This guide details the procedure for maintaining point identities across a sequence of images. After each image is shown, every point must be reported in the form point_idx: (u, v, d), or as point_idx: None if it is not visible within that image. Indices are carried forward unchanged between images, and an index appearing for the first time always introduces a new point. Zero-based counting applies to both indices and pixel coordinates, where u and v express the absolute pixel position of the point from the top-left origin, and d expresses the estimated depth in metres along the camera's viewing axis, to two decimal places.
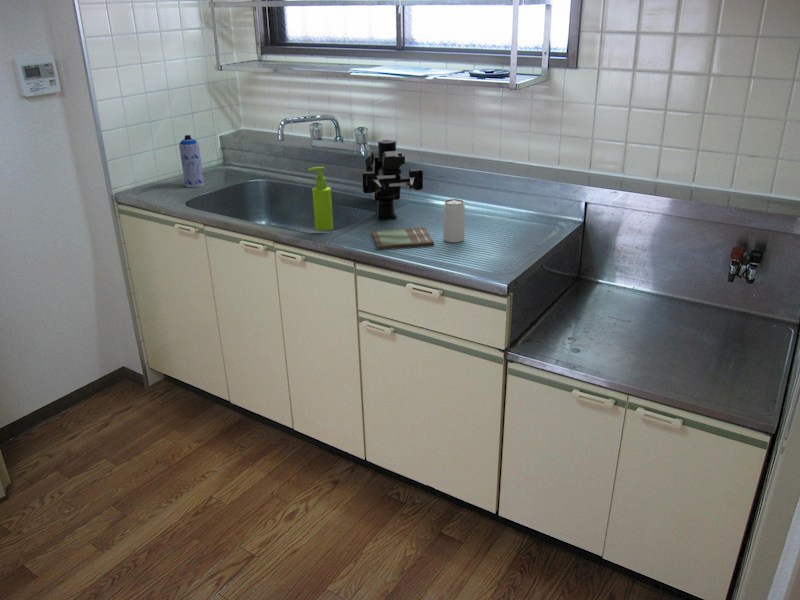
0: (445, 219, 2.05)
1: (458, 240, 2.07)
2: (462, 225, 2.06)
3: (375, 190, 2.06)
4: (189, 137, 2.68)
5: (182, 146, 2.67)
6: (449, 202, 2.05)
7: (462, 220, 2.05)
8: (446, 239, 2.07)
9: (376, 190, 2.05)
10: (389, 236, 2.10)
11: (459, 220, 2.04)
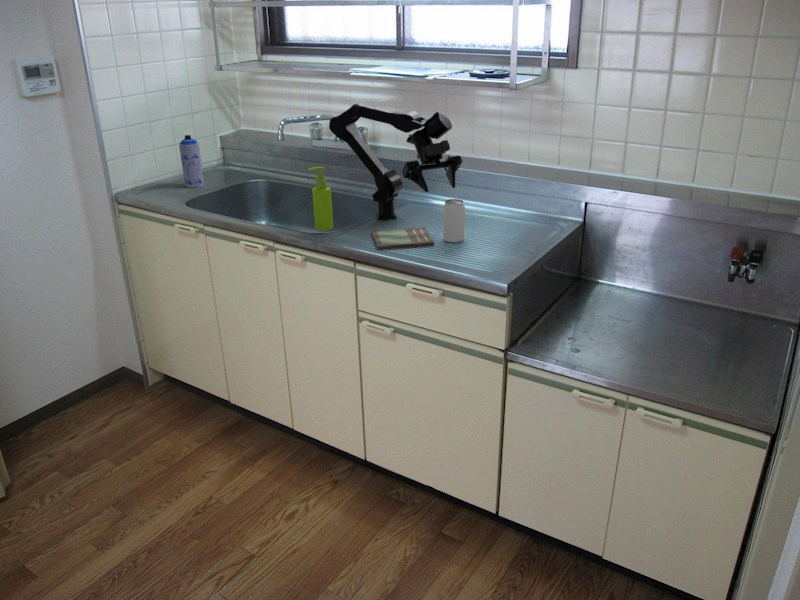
0: (445, 219, 2.05)
1: (458, 240, 2.07)
2: (462, 225, 2.06)
3: (418, 184, 2.11)
4: (189, 137, 2.68)
5: (182, 146, 2.67)
6: (449, 202, 2.05)
7: (462, 220, 2.05)
8: (446, 239, 2.07)
9: (420, 185, 2.11)
10: (389, 236, 2.10)
11: (459, 220, 2.04)
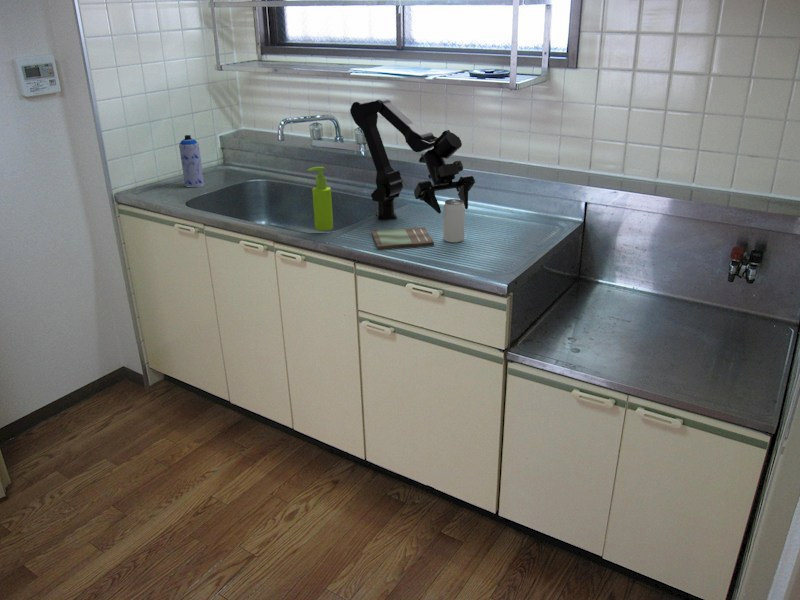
0: (445, 219, 2.05)
1: (458, 240, 2.07)
2: (462, 225, 2.06)
3: (430, 205, 2.07)
4: (189, 137, 2.68)
5: (182, 146, 2.67)
6: (449, 202, 2.05)
7: (462, 220, 2.05)
8: (446, 239, 2.07)
9: (432, 206, 2.06)
10: (389, 236, 2.10)
11: (459, 220, 2.04)
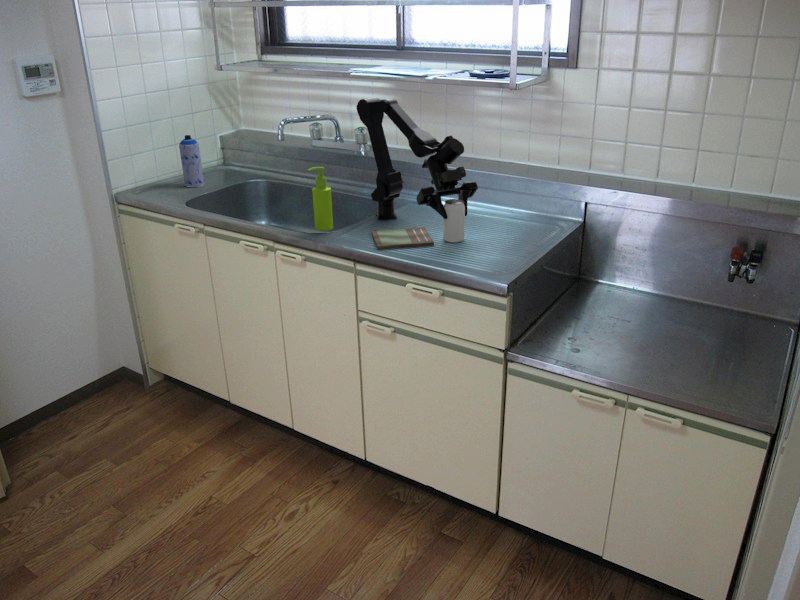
0: (445, 219, 2.05)
1: (458, 240, 2.07)
2: (462, 225, 2.06)
3: (437, 210, 2.06)
4: (189, 137, 2.68)
5: (182, 146, 2.67)
6: (449, 202, 2.05)
7: (462, 220, 2.05)
8: (446, 239, 2.07)
9: (438, 212, 2.06)
10: (389, 236, 2.10)
11: (459, 220, 2.04)
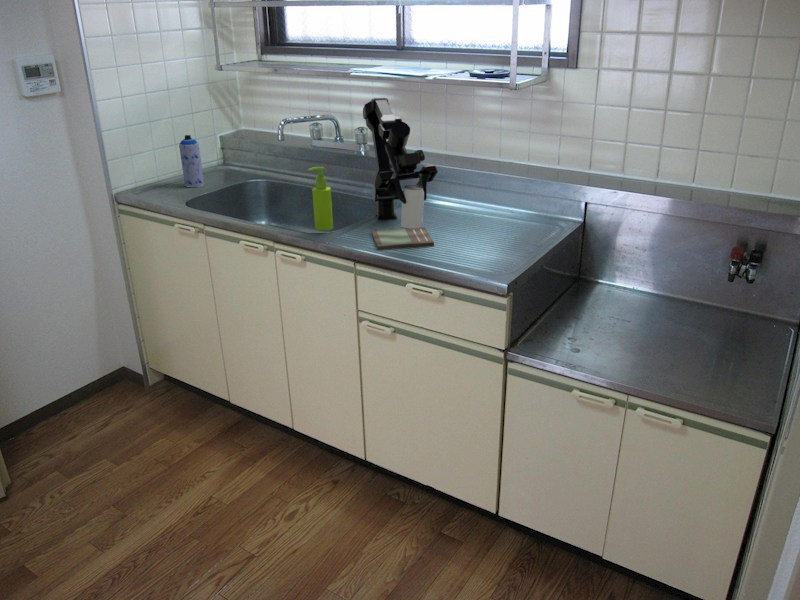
0: (404, 204, 2.01)
1: (416, 227, 2.03)
2: (421, 211, 2.02)
3: (395, 195, 2.02)
4: (189, 137, 2.68)
5: (182, 146, 2.67)
6: (408, 187, 2.01)
7: (421, 206, 2.01)
8: (404, 225, 2.03)
9: (397, 196, 2.02)
10: (389, 236, 2.10)
11: (418, 206, 2.00)
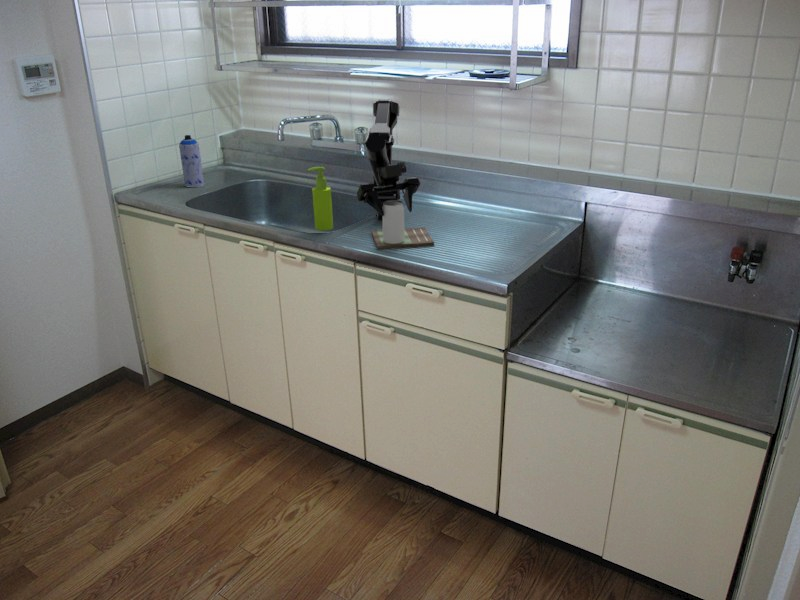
0: (384, 220, 2.02)
1: (398, 242, 2.03)
2: (401, 226, 2.02)
3: (374, 207, 2.02)
4: (189, 137, 2.68)
5: (182, 146, 2.67)
6: (388, 203, 2.02)
7: (401, 221, 2.02)
8: (385, 241, 2.04)
9: (375, 209, 2.02)
10: None
11: (398, 221, 2.01)
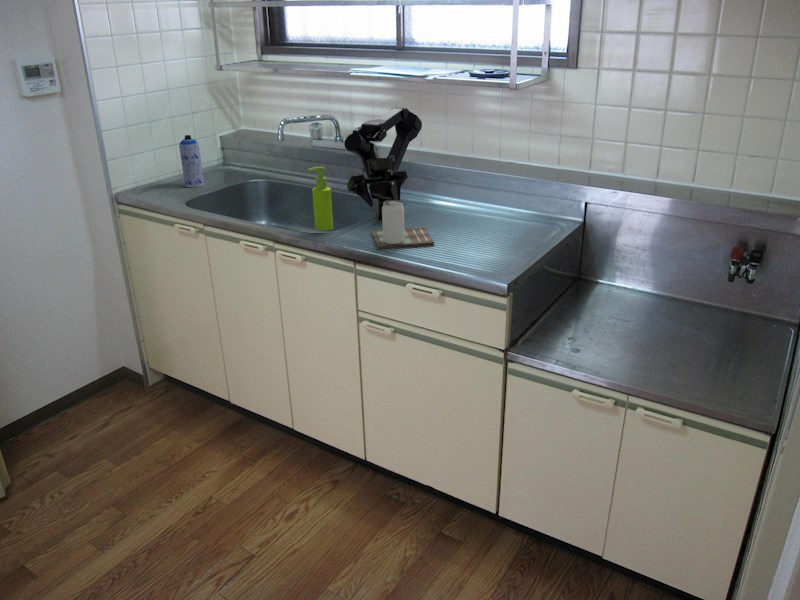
0: (384, 220, 2.02)
1: (398, 242, 2.03)
2: (401, 226, 2.02)
3: (363, 198, 2.09)
4: (189, 137, 2.68)
5: (182, 146, 2.67)
6: (388, 203, 2.02)
7: (401, 221, 2.02)
8: (385, 241, 2.04)
9: None
10: None
11: (398, 221, 2.01)
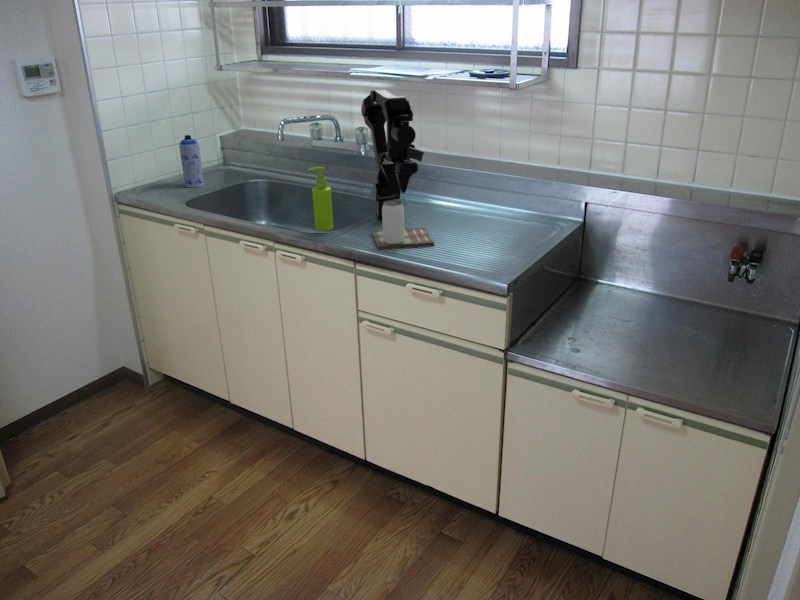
0: (384, 220, 2.02)
1: (398, 242, 2.03)
2: (401, 226, 2.02)
3: (400, 182, 2.08)
4: (189, 137, 2.68)
5: (182, 146, 2.67)
6: (388, 203, 2.02)
7: (401, 221, 2.02)
8: (385, 241, 2.04)
9: (401, 184, 2.09)
10: None
11: (398, 221, 2.01)
